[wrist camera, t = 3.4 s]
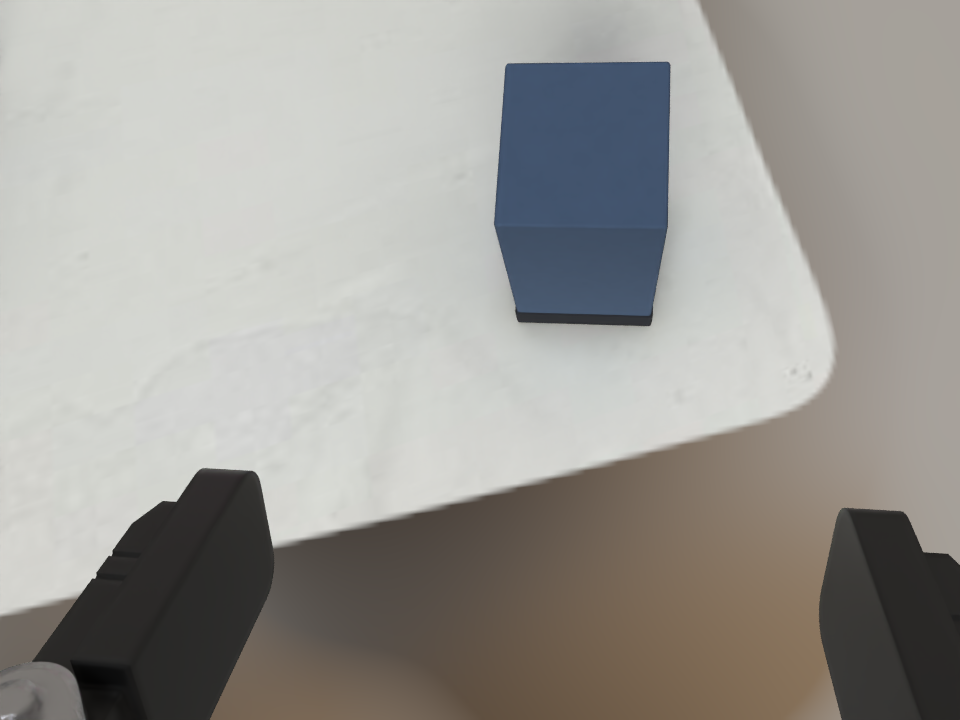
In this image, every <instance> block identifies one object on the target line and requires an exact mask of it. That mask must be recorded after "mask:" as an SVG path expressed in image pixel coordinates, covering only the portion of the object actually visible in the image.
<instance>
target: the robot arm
mask: <svg viewBox="0 0 960 720" xmlns="http://www.w3.org/2000/svg"><path fill="white" fill-rule="evenodd" d="M273 572H274V552H273V546H272V541H271V536H270V531H269V525H268V520H267V515H266V510H265V504H264V499H263V494H262V489H261V484H260V480H259V477H258V476H257V474H256V473H255V472H253V471H243V470H226V469H209V468H203V469H201V470H199V471H198V472H197V473H196V474H195V476H194V477H193V479H192V480H191V481H190V483H189V484H188V486H187V487H186V489H185V490H184V492H183V493H182V495H181V496H180V498H179V499H178V501H177V502H169V501H162V502H161V503H159V504H158V505H157V506H155V507H154V508H153V509H151V510H150V511H149V512H147V513H146V514H145V515H143V516H142V517H141V518H139V519H138V520H136V521H135V522H134V523H132V525H131V526H130V527H129V529H128V530H127V531H126V533H125V534H124V536H123V537H122V538H121V540H120V541H119V542H118V544H117V545H116V547H115V548H114V549H113V554H112V556H108V558H107V559H106V560H105V562H104V563H103V565H102V566H101V567H100V569H99V570H98V571H97V576H96V579H92V580H91V581H90V583H89V584H88V585H87V587H86V588H85V589H84V591H83V592H82V594H81V595H80V596H79V598H78V599H77V600H76V602H75V603H74V605H73V606H72V608H71V609H70V610H69V612H68V613H67V614H66V616H65V617H64V618H63V620H62V621H61V623H60V624H59V625H58V627H57V628H56V630H55V631H54V632H53V634H52V635H51V636H50V638H49V639H48V641H47V642H46V643H45V645H44V646H43V647H42V649H41V650H40V652H39V653H38V655H37V656H36V657H35V659H34V660H33V661H32V662H29V663H24V664H19V665H16V666H13V667H9V668H7V669H4V670H2V671H0V720H210V718H211V715H212V713H213V711H214V709H215V707H216V705H217V703H218V701H219V698H220V696H221V694H222V692H223V690H224V688H225V686H226V683H227V681H228V679H229V677H230V675H231V673H232V671H233V669H234V666H235V664H236V662H237V660H238V658H239V656H240V654H241V652H242V650H243V647H244V645H245V643H246V641H247V639H248V637H249V635H250V633H251V630H252V628H253V626H254V624H255V622H256V620H257V618H258V616H259V613H260V612H261V609H262V607H263V605H264V603H265V601H266V599H267V596H268V594H269V591H270V588H271V584H272V578H273ZM819 622H820V632H821V639H822V644H823V648H824V652H825V655H826V660H827V664H828V667H829V671H830V675H831V679H832V683H833V686H834V691H835V695H836V699H837V703H838V707H839V710H840V714H841V718H842V720H960V565H959V564H958V563H957V562H956V561H955V560H954V559H953V558H952V557H951V556H949V554H939V553H924V552H923V551H922V548H921V546H920V544H919V542H918V539H917V537H916V535H915V532H914V530H913V528H912V525H911V523H910V521H909V519H908V517H907V515H906V514H904V512H901V511H886V510H870V509H854V508H842V509H841V510H840V512H839V514H838V516H837V520H836V524H835V529H834V533H833V538H832V543H831V548H830V552H829V557H828V562H827V566H826V571H825V575H824V580H823V585H822V589H821V595H820V605H819Z"/></svg>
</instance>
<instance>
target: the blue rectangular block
mask: <svg viewBox="0 0 960 720" xmlns="http://www.w3.org/2000/svg"><path fill="white" fill-rule="evenodd" d="M669 117H670V63H669V62H607V63H515V64H507V65H506V67H505V80H504V94H503V108H502V122H501V136H500V150H499V164H498V177H497V191H496V205H495V219H494V225H495V229H496V233H497V237H498V240H499V244H500V248H501V252H502V255H503V259H504V263H505V267H506V271H507V274H508V278H509V282H510V286H511V289H512V293H513V297H514V301H515V304H516V310H515V312H516V316H517V320H518V322H534V323H567V324H601V325H635V326H650V325H651V322H652V316H653V301H654V296H655V290H656V285H657V280H658V275H659V269H660V264H661V259H662V253H663V248H664V243H665V238H666V232H667V227H668V175H669Z"/></svg>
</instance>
